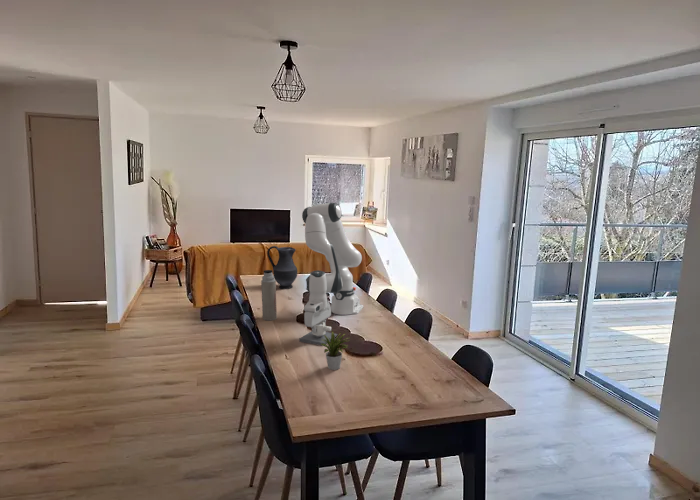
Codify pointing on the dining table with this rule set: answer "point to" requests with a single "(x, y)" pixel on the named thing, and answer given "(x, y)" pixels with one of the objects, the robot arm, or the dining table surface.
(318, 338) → the duct plate
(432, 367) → the dining table surface
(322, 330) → the collar
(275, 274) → the pitcher
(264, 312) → the thermos bottle
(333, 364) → the house plant
